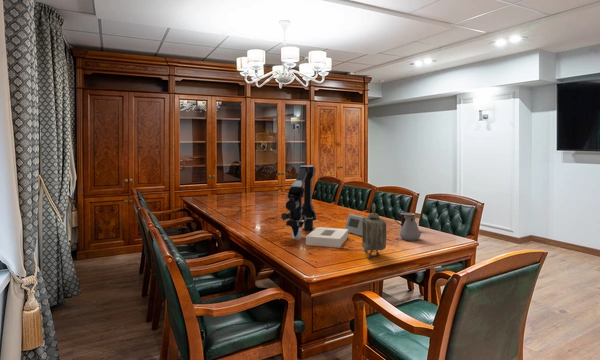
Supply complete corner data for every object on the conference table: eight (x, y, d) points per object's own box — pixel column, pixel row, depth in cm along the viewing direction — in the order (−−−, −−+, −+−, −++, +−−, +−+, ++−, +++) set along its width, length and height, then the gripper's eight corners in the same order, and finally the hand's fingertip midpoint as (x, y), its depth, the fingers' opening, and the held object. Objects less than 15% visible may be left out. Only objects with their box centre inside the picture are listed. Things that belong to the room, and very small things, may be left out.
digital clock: (343, 231, 228) (343, 214, 228) (356, 230, 232) (356, 213, 231) (356, 237, 214) (357, 218, 213) (370, 236, 217) (370, 217, 216)
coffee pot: (398, 236, 216) (399, 210, 215) (419, 237, 214) (420, 211, 213) (400, 245, 196) (401, 217, 194) (423, 247, 193) (424, 218, 192)
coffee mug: (416, 229, 235) (416, 213, 234) (412, 231, 228) (412, 215, 227) (397, 227, 241) (398, 211, 240) (393, 229, 234) (393, 213, 233)
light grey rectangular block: (294, 237, 213) (294, 226, 213) (301, 237, 212) (301, 227, 211) (292, 238, 209) (292, 228, 209) (298, 239, 208) (298, 228, 208)
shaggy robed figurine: (361, 251, 185) (362, 200, 182) (380, 251, 184) (381, 201, 182) (366, 260, 170) (367, 205, 168) (386, 260, 170) (387, 205, 168)
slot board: (317, 234, 219) (317, 227, 219) (348, 237, 214) (348, 229, 214) (305, 244, 197) (305, 236, 196) (339, 247, 191) (339, 238, 191)
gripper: (288, 204, 220) (288, 231, 222) (277, 209, 203) (277, 238, 204) (306, 205, 217) (306, 232, 218) (296, 210, 199) (296, 239, 201)
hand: (296, 235), depth 210 cm, fingers closed on light grey rectangular block, 4 cm apart
